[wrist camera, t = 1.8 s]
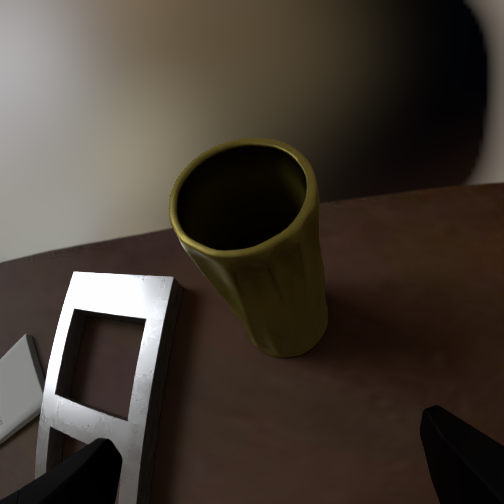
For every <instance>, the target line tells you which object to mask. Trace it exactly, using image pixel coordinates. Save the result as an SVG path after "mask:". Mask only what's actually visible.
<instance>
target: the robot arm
mask: <svg viewBox="0 0 504 504" xmlns="http://www.w3.org/2000/svg"><path fill="white" fill-rule="evenodd" d="M420 436H421V440H422V444H423V447H424V451H425V455H426V459H427V463H428V467H429V472H430V475H431V479H432V482H433V485H434V488H435V491H436V493H437V496H438V499H439V501H440V504H504V446H503V445H501V444H499V443H498V442H496V441H495V440H493V439H491V438H490V437H488V436H486V435H485V434H483V433H482V432H480V431H478V430H477V429H475V428H474V427H472V426H470V425H469V424H467V423H466V422H464V421H463V420H461V419H459V418H458V417H456V416H455V415H453V414H452V413H450V412H448V411H447V410H445V409H444V408H442V407H441V406H438V405H435V406H432V407H429V408H426V409H424V411H423V414H422V420H421V425H420ZM122 461H123V460H122V455H121V454H120V452H119V451H118V449H117V448H116V446H115V445H114V444H113V442H112V441H111V440H110V439H107V438H97V439H95V440H94V441H92V442H91V443H89V444H88V445H87V446H85V447H84V448H82V449H81V450H79V451H78V452H76V453H75V454H73V455H72V456H70V457H69V458H67V459H66V460H64V461H63V462H61V463H60V464H58V465H57V466H55V467H54V468H52V469H51V470H49V471H48V472H46V473H44V474H43V475H41V476H40V477H38V478H37V479H35V480H33V481H32V482H30V483H29V484H27V485H25V486H24V487H22V488H21V489H19V490H17V491H16V492H14V493H12V494H11V495H9V496H7V497H5V498H3V499H2V500H0V504H114V503H115V500H116V495H117V489H118V483H119V478H120V472H121V467H122Z"/></svg>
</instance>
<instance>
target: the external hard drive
mask: <svg viewBox="0 0 504 504" xmlns="http://www.w3.org/2000/svg"><path fill="white" fill-rule="evenodd" d="M44 388H45V379H44V376H43V373H42V370H41V367H40V364H39V360H38V357H37V354H36V350H35V347H34V343H33V339H32V336H31V335H29V334H25V335H24V336H23V337H22V338H21V339H20V340H19V341H18V342H17V343H16V344H15V345H14V346H13V347H12V348H11V349H10V350H9V351H8V352H7V353H6V354H5V355H4V356H3V357H2V358H1V359H0V444H1V443H3V442H4V441H5V440H7V439H8V438H9V437H11V436H12V435H13V434H14V433H16V432H17V431H18V430H20V429H21V428H22V427H23V426H25V425H26V424H27V423H28V422H30V421H31V420H32V419H34V418H35V417H36V416H37V415H39V414H40V413H41V406H42V400H43V394H44Z"/></svg>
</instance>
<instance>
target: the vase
mask: <svg viewBox="0 0 504 504" xmlns="http://www.w3.org/2000/svg"><path fill="white" fill-rule="evenodd" d="M169 216H170V222H171V225H172V227H173V229H174V231H175V233H176V235H177V237H178V238H179V240H180V242H181V244H182V246H183V248H184V249H185V251H186V252H187V253H188V255H189V256H190V257H191V259H192V260H193V261H194V263H195V264H196V265H197V267H198V268H199V269H200V271H201V272H202V273H203V274H204V275H205V277H206V278H207V279H208V280H209V281H210V283H211V284H212V285H213V286H214V288H215V289H216V290H217V291H218V293H219V294H220V295H221V296H222V298H223V299H224V300H225V301H226V302H227V304H228V305H229V306H230V308H231V309H232V311H233V312H234V314H235V315H236V316H237V317H238V319H239V320H240V321H241V323H242V324H243V326H244V327H245V329H246V333H247V336H248V337H249V339H250V340H251V342H252V343H253V344H254V345H255V346H256V347H257V348H258V349H259V350H261V351H262V352H264V353H266V354H268V355H271V356H274V357H292V356H298V355H301V354H303V353H305V352H307V351H308V350H310V349H311V348H313V347H314V346H315V345H316V344H317V343H318V342H319V340H320V339H321V338H322V336H323V334H324V332H325V330H326V328H327V324H328V308H327V304H326V297H325V277H324V266H323V261H322V255H321V248H320V243H319V193H318V187H317V183H316V178H315V174H314V172H313V169H312V166H311V165H310V163H309V162H308V160H307V159H306V158H305V157H304V156H303V155H302V154H301V153H300V152H299V151H297V150H296V149H294V148H293V147H291V146H290V145H288V144H286V143H283V142H281V141H277V140H271V139H263V138H247V139H240V140H235V141H231V142H227V143H224V144H220V145H218V146H215V147H213V148H211V149H209V150H207V151H206V152H204V153H202V154H201V155H200V156H198V157H197V158H196V159H194V160H193V161H192V162H191V163H190V164H189V165H188V166H187V167H186V168H185V170H184V171H183V172H182V173H181V174H180V176H179V177H178V179H177V180H176V182H175V184H174V187H173V189H172V192H171V195H170V206H169Z"/></svg>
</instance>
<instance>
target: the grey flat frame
mask: <svg viewBox="0 0 504 504" xmlns="http://www.w3.org/2000/svg"><path fill="white" fill-rule="evenodd" d="M182 291H183V286H182V285H181V284H180V283H179V282H178V281H177V280H176V279H175V278H174V277H161V276H140V275H121V274H103V273H87V272H74V273H73V276H72V279H71V282H70V286H69V289H68V292H67V295H66V299H65V302H64V306H63V309H62V313H61V316H60V320H59V324H58V328H57V332H56V336H55V340H54V344H53V348H52V353H51V357H50V362H49V367H48V372H47V377H46V382H45V388H44V394H43V400H42V406H41V413H40V421H39V429H38V439H37V450H36V464H35V479H37V478H38V477H40V476H41V475H43V474H44V473H46V472H48V471H49V470H51V469H52V468H54V467H55V466H57V465H58V464H60V463H61V462H62V452H63V442H64V433H65V434H67V435H69V436H71V437H73V438H75V439H77V440H79V441H82V442H84V443H86V444H89V443H91V442H92V441H94V440H95V439H97V438H107V439H110V440H111V441H112V442H113V444H114V445H115V446H116V448H117V449H118V451H119V452H120V454H121V455H122V458H123V461H122V470H121V480H120V491H119V504H149V500H150V491H151V481H152V472H153V464H154V456H155V448H156V441H157V433H158V426H159V419H160V413H161V406H162V400H163V393H164V387H165V381H166V375H167V370H168V364H169V358H170V353H171V347H172V342H173V336H174V331H175V326H176V321H177V316H178V311H179V306H180V301H181V296H182ZM87 316H92V317H98V318H104V319H111V320H117V321H124V322H131V323H138V324H145V329H144V333H143V338H142V343H141V348H140V353H139V358H138V363H137V369H136V374H135V380H134V385H133V391H132V397H131V403H130V409H129V416H128V418H126V417H123V416H119V415H116V414H113V413H110V412H107V411H104V410H101V409H99V408H96V407H93V406H90V405H88V404H85V403H82V402H80V401H77V400H74V399H72V398H70V392H71V386H72V381H73V376H74V371H75V366H76V361H77V356H78V352H79V347H80V343H81V338H82V334H83V330H84V326H85V322H86V318H87Z"/></svg>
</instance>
